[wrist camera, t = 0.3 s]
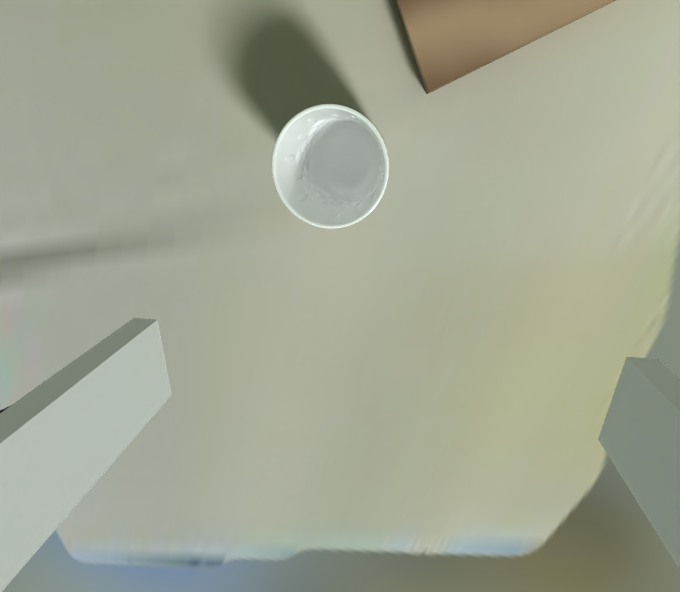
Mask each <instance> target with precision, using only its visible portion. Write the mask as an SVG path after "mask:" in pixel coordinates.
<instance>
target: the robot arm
mask: <svg viewBox="0 0 680 592" xmlns="http://www.w3.org/2000/svg"><path fill="white" fill-rule="evenodd" d="M171 395H172V393H171V388H170V383H169V378H168V372H167V367H166V362H165V357H164V352H163V347H162V342H161V337H160V332H159V326H158V321H157V320H153V319H140V318H133V319H132V320H130V321H129V322H128V323H126V324H125V325H123V326H122V327H121V328H119V329H118V330H116V331H115V332H114V333H112V334H111V335H109V336H108V337H107V338H105V339H104V340H102V341H101V342H100V343H98V344H97V345H95V346H94V347H93V348H91V349H90V350H88V351H87V352H86V353H84V354H83V355H81V356H80V357H79V358H77V359H76V360H74V361H73V362H72V363H70V364H69V365H67V366H66V367H65V368H63V369H62V370H60V371H59V372H57V373H56V374H55V375H53V376H52V377H50V378H49V379H48V380H46V381H45V382H43V383H42V384H41V385H39V386H38V387H36V388H35V389H34V390H32V391H31V392H29V393H28V394H27V395H25V396H24V397H22V398H21V399H20V400H18V401H17V402H15V403H14V404H13V405H11V406H9V407H7V408H5V409H3V410H0V592H2V591H3V589H4V588H5V587H6V586H7V585H8V584H9V583H10V581H11V580H12V579H13V578H14V577H15V576H16V574H17V573H18V572H19V571H20V570H21V569H22V567H23V566H24V565H25V564H26V563H27V562H28V561H29V559H30V558H31V557H32V556H33V555H34V554H35V552H36V551H37V550H38V549H39V548H40V547H41V545H42V544H43V543H44V542H45V541H46V539H48V537H49V536H50V535H51V534H52V533H53V532H54V530H55V529H56V528H57V527H58V526H59V525H60V523H61V522H62V521H63V520H64V519H65V518H66V516H67V515H68V514H69V513H70V512H71V511H72V510H73V508H74V507H75V506H76V505H77V504H78V503H79V501H80V500H81V499H82V498H83V497H84V496H85V494H86V493H87V492H88V491H89V490H90V489H91V488H92V486H93V485H94V484H95V483H96V482H97V481H98V479H99V478H100V477H101V476H102V475H103V474H104V472H105V471H106V470H107V469H108V468H109V467H110V465H111V464H112V463H113V462H114V461H115V460H116V459H117V457H118V456H119V455H120V454H121V453H122V452H123V450H124V449H125V448H126V447H127V446H128V445H129V443H130V442H131V441H132V440H133V439H134V438H135V436H136V435H137V434H138V433H139V432H140V431H141V430H142V428H143V427H144V426H145V425H146V424H147V423H148V421H149V420H150V419H151V418H152V417H153V416H154V414H155V413H156V412H157V411H158V410H159V409H160V408H161V406H162V405H163V404H164V403H165V402H166V401H167V399H168V398H169V397H170V396H171ZM598 439H599V441H600V443H601V444H602V446H603V447H604V449H605V451H606V452H607V454H608V455H609V457H610V459H611V460H612V462H613V463H614V465H615V467H616V468H617V470H618V471H619V473H620V475H621V476H622V478H623V480H624V481H625V483H626V484H627V486H628V488H629V489H630V490H631V492H632V494H633V496H634V497H635V499H636V500H637V502H638V503H639V505H640V507H641V508H642V510H643V512H644V513H645V515H646V516H647V518H648V520H649V521H650V523H651V524H652V526H653V528H654V529H655V531H656V532H657V534H658V536H659V537H660V539H661V540H662V542H663V544H664V545H665V547H666V548H667V550H668V552H669V553H670V555H671V556H672V558H673V560H674V561H675V562H676V565H677V566H678V568H679V569H680V379H679V377H678V376H677V375H676V374H674V373H673V372H672V371H671V370H670V369H669V368H668V367H667V366H665V364H663V363H662V362H661V361H660V360H659V359H648V358H635V357H626V360H625V363H624V366H623V369H622V372H621V375H620V378H619V380H618V383H617V386H616V389H615V392H614V395H613V398H612V401H611V404H610V407H609V409H608V412H607V415H606V418H605V421H604V424H603V427H602V430H601V433H600V436H599V438H598Z"/></svg>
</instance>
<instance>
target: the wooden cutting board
mask: <svg viewBox="0 0 680 592" xmlns="http://www.w3.org/2000/svg"><path fill="white" fill-rule="evenodd" d="M613 1H615V0H395V2H396V5H397V8H398V11H399V14H400V17H401V20H402V23H403V26H404V29H405V32H406V34H407V37H408V40H409V43H410V46H411V49H412V52H413V55H414V58H415V61H416V64H417V67H418V69H419V72H420V75H421V78H422V81H423V84H424V87H425V90H426V93H427V94H428V93H430V92H432V91H434V90H436V89H438V88H440V87H442V86H444V85H446V84H448V83H450V82H452V81H454V80H456V79H458V78H460V77H462V76H464V75H466V74H468V73H470V72H472V71H474V70H476V69H478V68H480V67H482V66H484V65H486V64H489V63H491V62H493V61H495V60H497V59H499V58H501V57H503V56H505V55H507V54H509V53H511V52H513V51H515V50H517V49H519V48H521V47H523V46H525V45H527V44H529V43H531V42H533V41H535V40H537V39H539V38H541V37H543V36H545V35H547V34H549V33H551V32H553V31H555V30H557V29H559V28H561V27H563V26H565V25H567V24H569V23H571V22H573V21H575V20H577V19H579V18H581V17H583V16H585V15H587V14H589V13H591V12H593V11H595V10H597V9H599V8H601V7H603V6H605V5H607V4H609V3H611V2H613Z"/></svg>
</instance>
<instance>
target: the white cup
mask: <svg viewBox="0 0 680 592" xmlns="http://www.w3.org/2000/svg"><path fill="white" fill-rule="evenodd" d="M272 175H273V180H274V184H275V187H276V189H277V192H278V194H279V196H280V198H281V199H282V201H283V202H284V204H285V205H286V206H287V208H288V209H289V210H290V211H291V212H292V213H293V214H294V215H296V216H297V217H298V218H300V219H301V220H303V221H305V222H307V223H309V224H311V225H314V226H317V227H322V228H341V227H346V226H349V225H352V224H354V223H356V222H358V221H360V220H362V219H363V218H364V217H366V216H367V215H368V214H369V213H370V212H371V211H372V210H373V209H374V208H375V207H376V205H377V204H378V203H379V201H380V199H381V198H382V196H383V193H384V191H385V188H386V185H387V181H388V175H389V160H388V152H387V148H386V145H385V142H384V140H383V138H382V136H381V134H380V133H379V131H378V130H377V129H376V127H375V126H374V125H373V124H372V123H371V122H370V121H369V120H368V119H367V118H366V117H365V116H363V115H362V114H361V113H359V112H357V111H355V110H353V109H351V108H349V107H346V106H342V105H337V104H321V105H316V106H312V107H309V108H307V109H305V110H303V111H301V112H299V113H298V114H296V115H295V116H294V117H293V118H292V119H290V120H289V122H288V123H287V124H286V125H285V126H284V128H283V129H282V131H281V132H280V134H279V136H278V138H277V140H276V143H275V146H274V150H273V155H272Z"/></svg>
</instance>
